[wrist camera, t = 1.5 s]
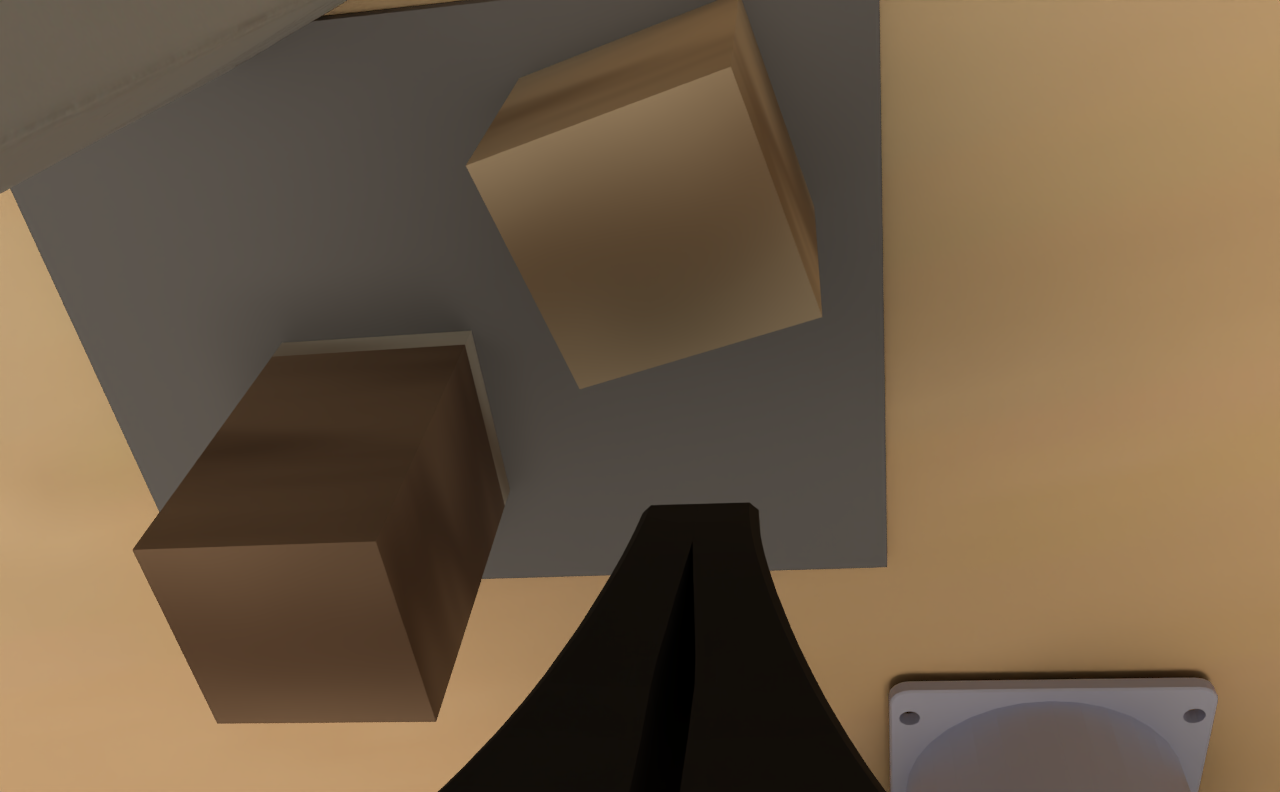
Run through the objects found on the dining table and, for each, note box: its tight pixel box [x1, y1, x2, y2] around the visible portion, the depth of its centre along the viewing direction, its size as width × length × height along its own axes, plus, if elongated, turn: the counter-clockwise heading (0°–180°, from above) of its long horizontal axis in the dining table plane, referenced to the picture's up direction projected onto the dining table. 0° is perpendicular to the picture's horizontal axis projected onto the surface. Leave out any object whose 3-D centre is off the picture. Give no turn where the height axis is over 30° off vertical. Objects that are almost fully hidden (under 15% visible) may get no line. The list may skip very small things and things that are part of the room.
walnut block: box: [133, 331, 510, 724], centre depth 23 cm, size 4×4×7 cm
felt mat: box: [10, 0, 887, 579], centre depth 25 cm, size 14×18×1 cm
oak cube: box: [466, 0, 822, 389], centre depth 20 cm, size 4×4×4 cm
